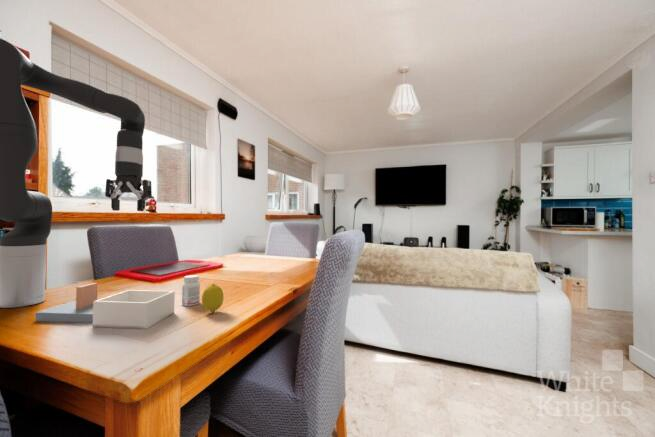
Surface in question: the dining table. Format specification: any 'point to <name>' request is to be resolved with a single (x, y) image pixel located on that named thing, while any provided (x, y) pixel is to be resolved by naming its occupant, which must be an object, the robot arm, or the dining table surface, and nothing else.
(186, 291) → the pill bottle
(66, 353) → the dining table surface
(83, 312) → the lid
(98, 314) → the box
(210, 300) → the lemon
